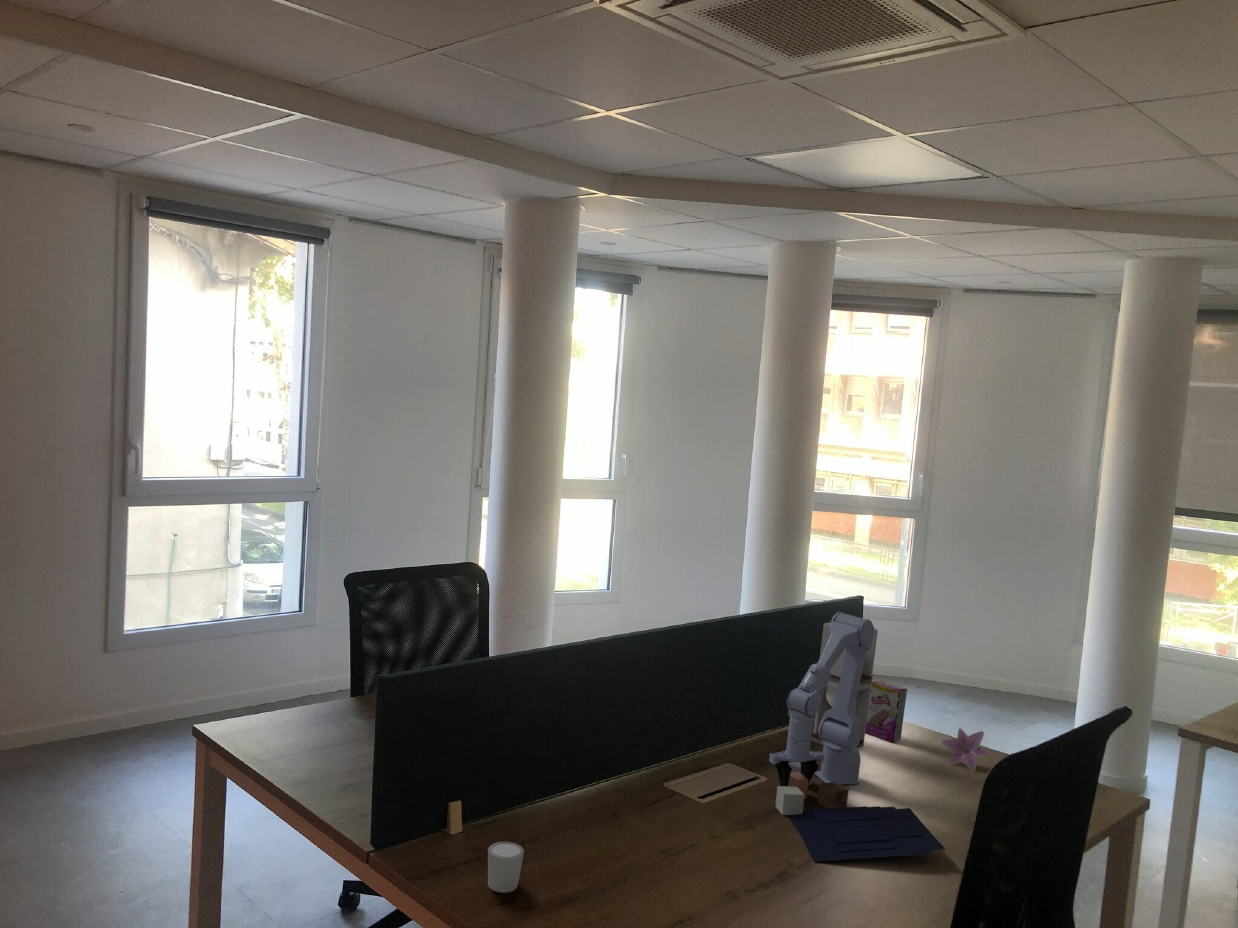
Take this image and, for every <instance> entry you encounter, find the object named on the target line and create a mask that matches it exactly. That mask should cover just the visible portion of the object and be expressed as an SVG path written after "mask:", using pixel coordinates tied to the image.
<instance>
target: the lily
mask: <svg viewBox="0 0 1238 928" xmlns="http://www.w3.org/2000/svg"><path fill="white" fill-rule="evenodd" d="M984 735H985V732H984V731H983V730H981V731H977V732H975V733H971V734H969V735H968V734H967V733H966V731H964V730H963V729H962V728H961V727H960V728H958V731H957V738H947V739H943V740H942V741H941V744H942V745H943V746H944V747H946V748H947V749H949V750H950V751H952V752H953V754H952V756H951V759H950V762H949V764H950V763H951V764H950V765H954V764H956V763H957V764H958V763H960V762H963V763H964V764H965V766H966V767H967V768H968V770H970V771H971V770H973V771H974V772H975V771H976V767H977V758H983V757H984V758H985V757H989V756H990V753H989V752H987V750H985V749H983V747H980V745H981V743H982V741H983V739H984Z"/></svg>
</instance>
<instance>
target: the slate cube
mask: <svg viewBox="0 0 1238 928" xmlns="http://www.w3.org/2000/svg"><path fill="white" fill-rule="evenodd" d="M788 764H789V766H790V767H791V768H792V771H791V772H800V773H801V764H800V762H788ZM814 775H815V774H814ZM814 775H813V776H812V778H811V780H810V782H809V785H808V786H810V785H812V784H813V783H814Z"/></svg>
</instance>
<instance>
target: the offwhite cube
mask: <svg viewBox="0 0 1238 928" xmlns="http://www.w3.org/2000/svg"><path fill="white" fill-rule="evenodd" d="M804 801H805V799H804V794H803V793H802V792H801V791H800V789H799V788H798V787H787V786H780V785H779V786H778V785H777V788H776V798H775V808H776V809H777V811H778V812H779V814H781V815H782V816H788V815H794V814H802V813H803V811H804Z"/></svg>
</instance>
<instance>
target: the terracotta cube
mask: <svg viewBox="0 0 1238 928" xmlns="http://www.w3.org/2000/svg"><path fill="white" fill-rule="evenodd" d="M808 782H809V780H808V779H807V778H806V777H805V776H803V775H802V774H801V773H800V772H791V773H790V777H789V781H788V787H798V788H799V789H800V791H801V792H802V793H803V794H804V800H807V799H808V798H807V796H808V790H809V788H808V787H809V785H808Z"/></svg>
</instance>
